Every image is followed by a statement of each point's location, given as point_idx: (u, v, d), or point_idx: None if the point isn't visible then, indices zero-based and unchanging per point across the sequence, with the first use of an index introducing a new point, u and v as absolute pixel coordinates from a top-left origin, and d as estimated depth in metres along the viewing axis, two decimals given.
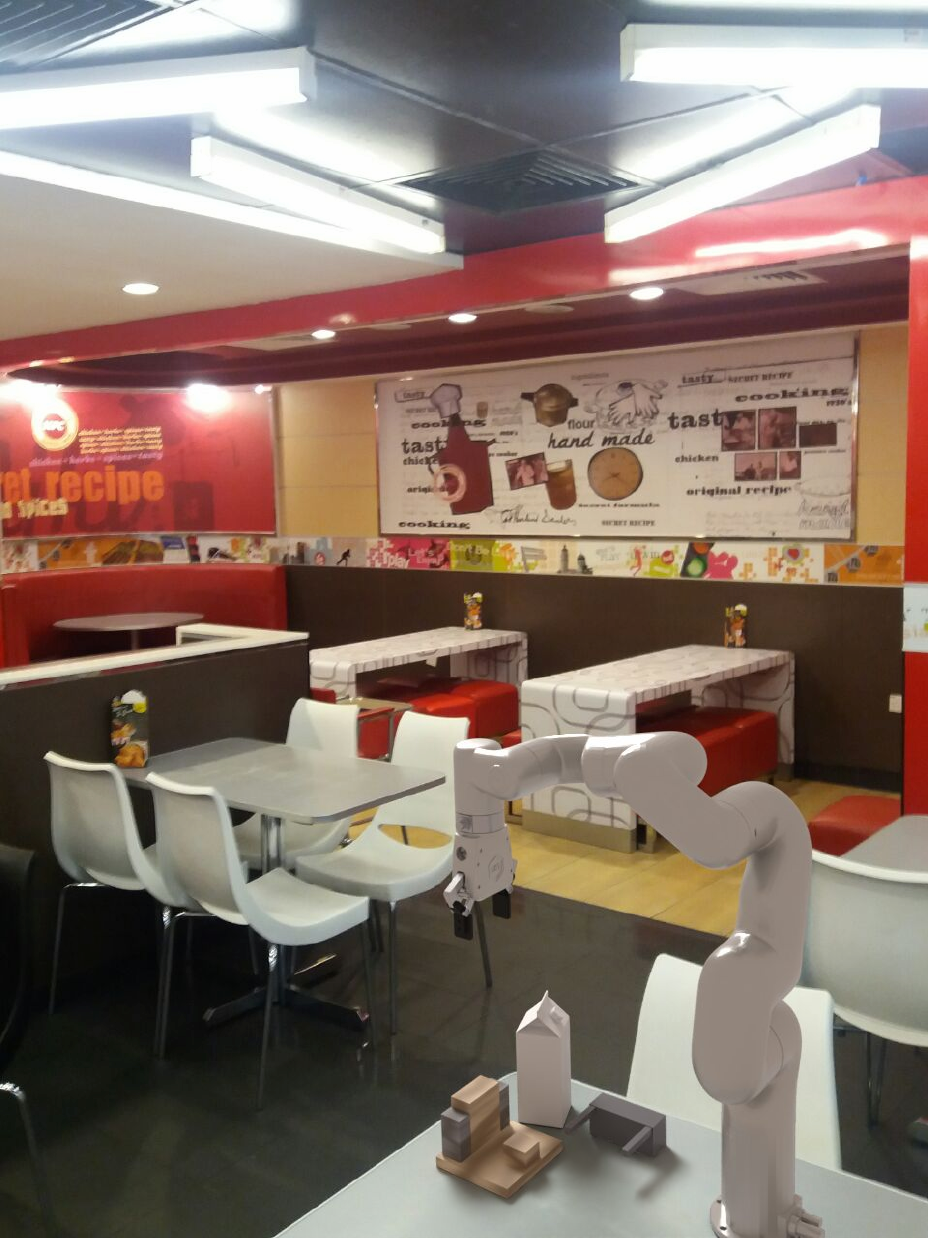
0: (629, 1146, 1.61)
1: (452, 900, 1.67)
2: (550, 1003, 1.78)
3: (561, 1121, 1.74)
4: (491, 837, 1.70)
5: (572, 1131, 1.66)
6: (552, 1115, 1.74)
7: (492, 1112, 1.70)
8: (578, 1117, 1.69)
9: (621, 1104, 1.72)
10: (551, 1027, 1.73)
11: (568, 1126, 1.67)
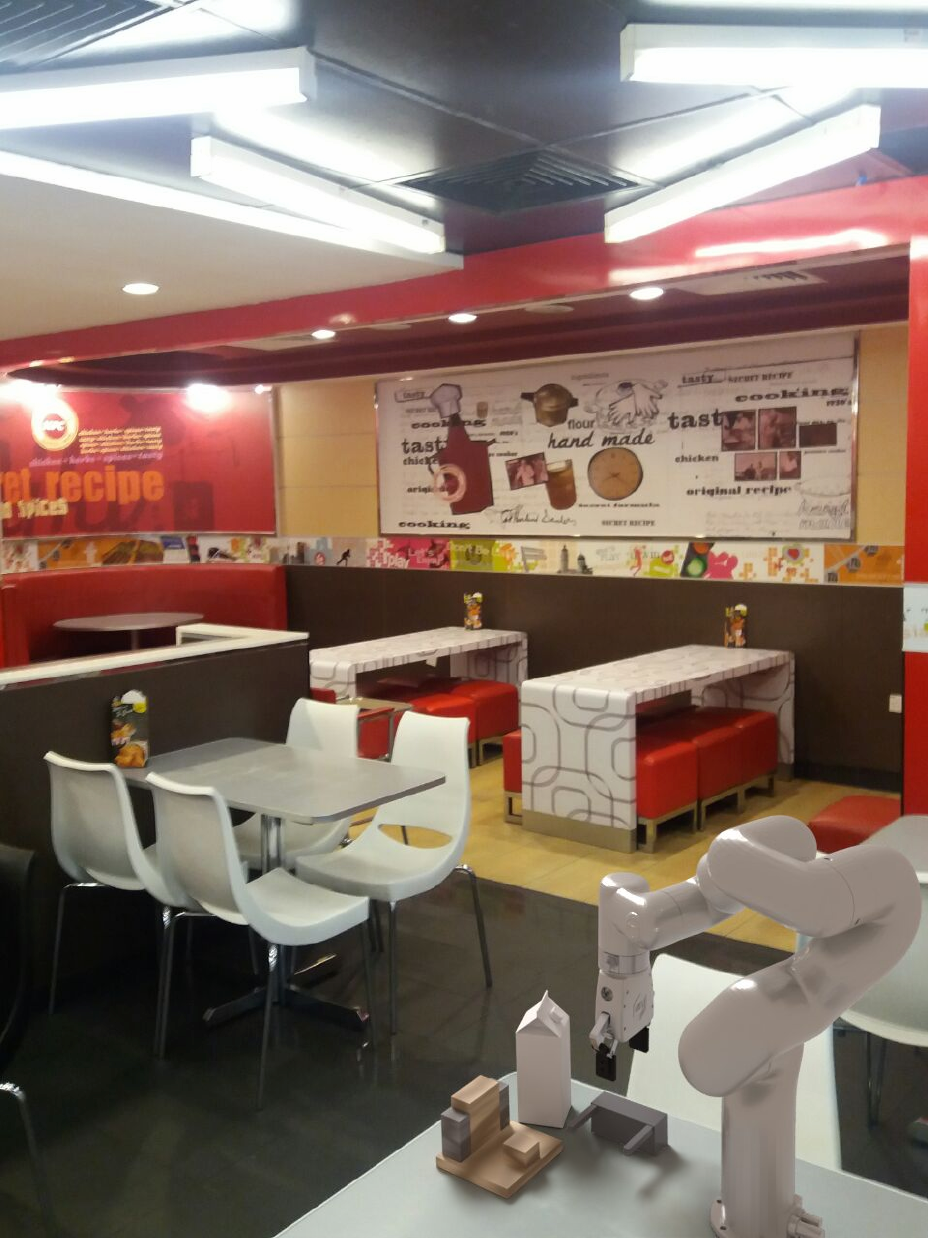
0: (630, 1144, 1.62)
1: (598, 1043, 1.62)
2: (550, 1003, 1.78)
3: (561, 1121, 1.74)
4: (637, 976, 1.65)
5: (574, 1130, 1.67)
6: (552, 1115, 1.74)
7: (492, 1112, 1.70)
8: (580, 1116, 1.69)
9: (623, 1102, 1.72)
10: (551, 1027, 1.73)
11: (570, 1125, 1.67)
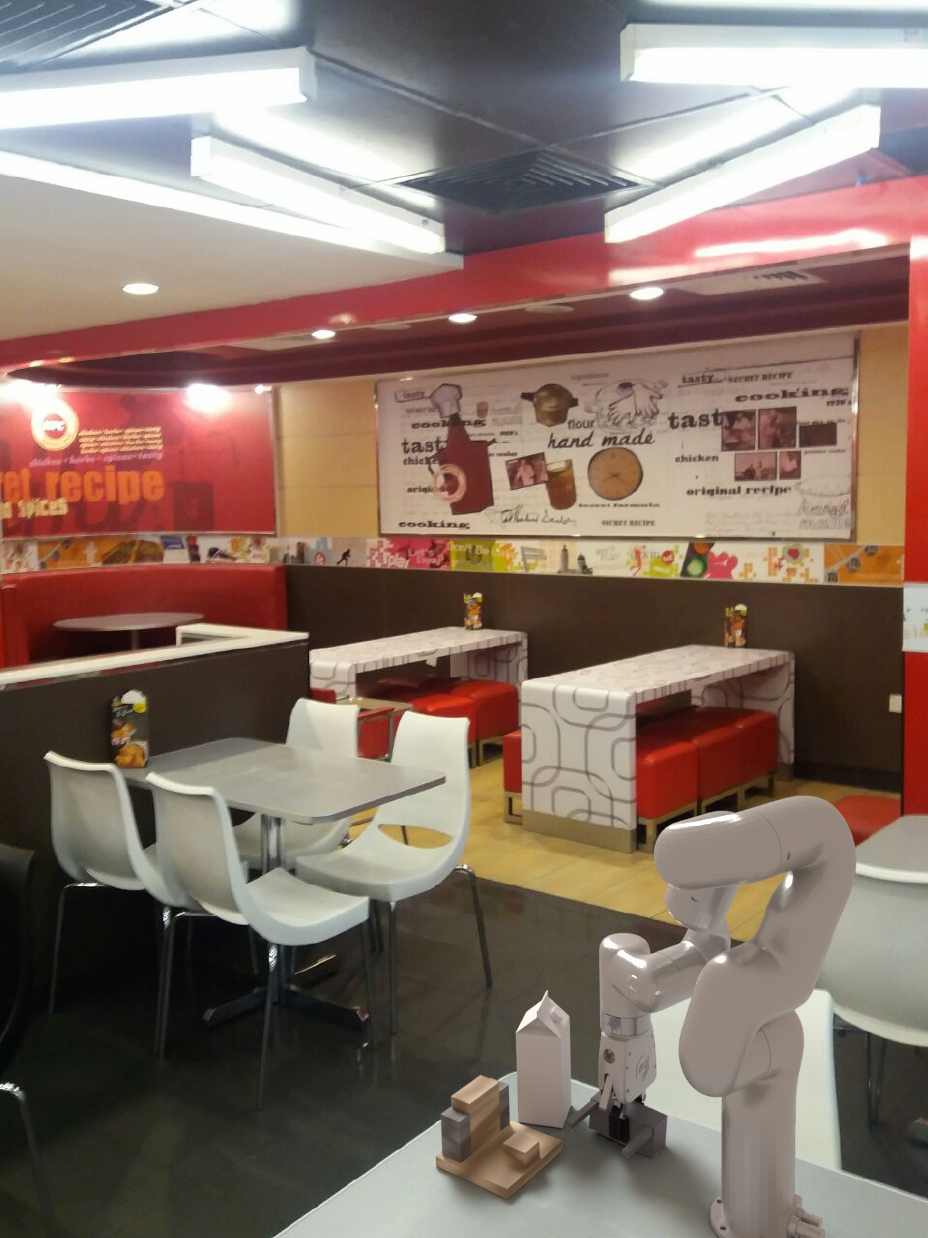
0: (630, 1146, 1.61)
1: (609, 1111, 1.65)
2: (550, 1003, 1.78)
3: (561, 1121, 1.74)
4: (638, 1038, 1.66)
5: (573, 1126, 1.66)
6: (552, 1115, 1.74)
7: (492, 1112, 1.70)
8: (579, 1112, 1.68)
9: None
10: (551, 1027, 1.73)
11: (569, 1121, 1.66)
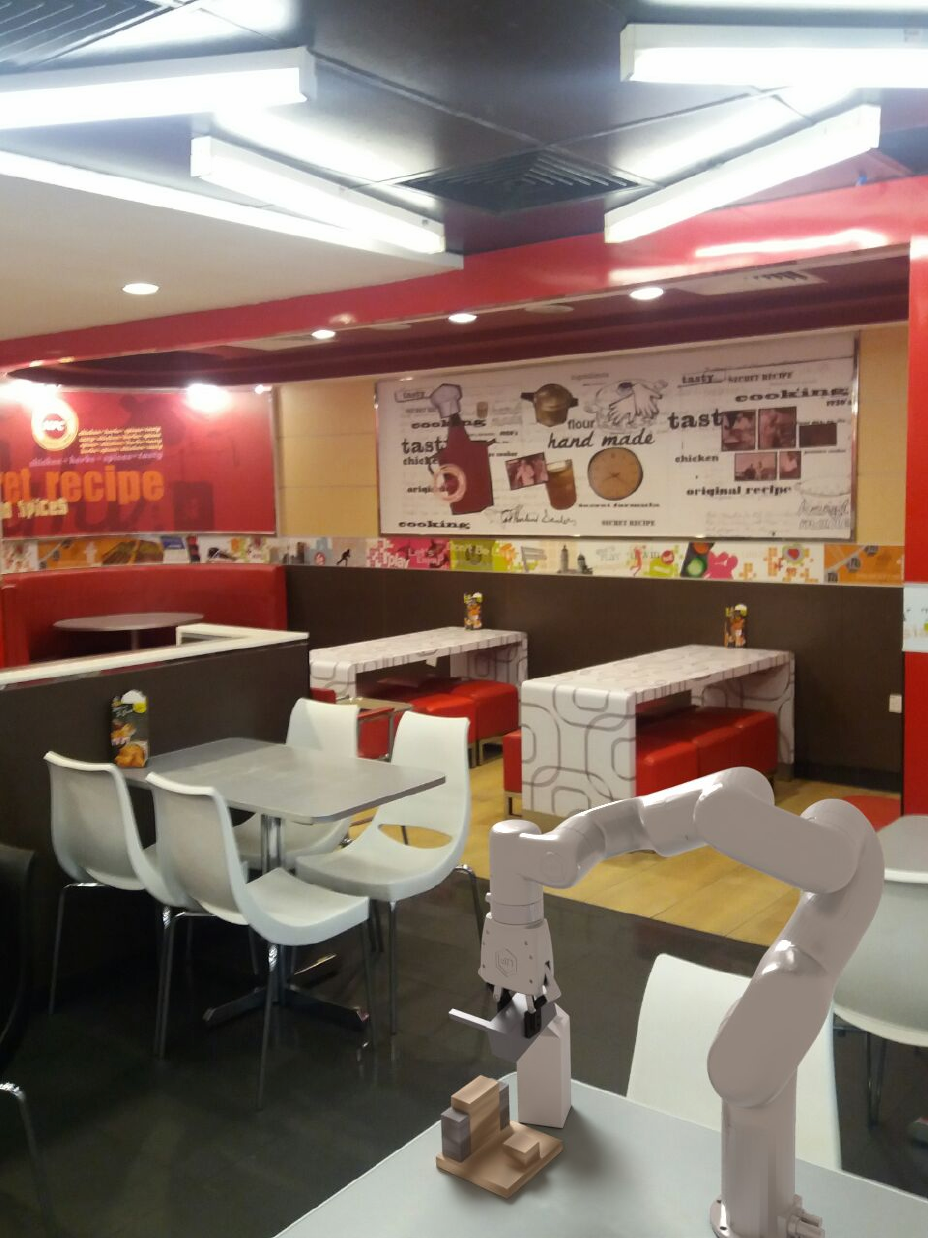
0: (456, 1013, 1.63)
1: None
2: None
3: (561, 1121, 1.74)
4: (501, 927, 1.58)
5: None
6: (552, 1115, 1.74)
7: (492, 1112, 1.70)
8: None
9: None
10: (551, 1027, 1.73)
11: None
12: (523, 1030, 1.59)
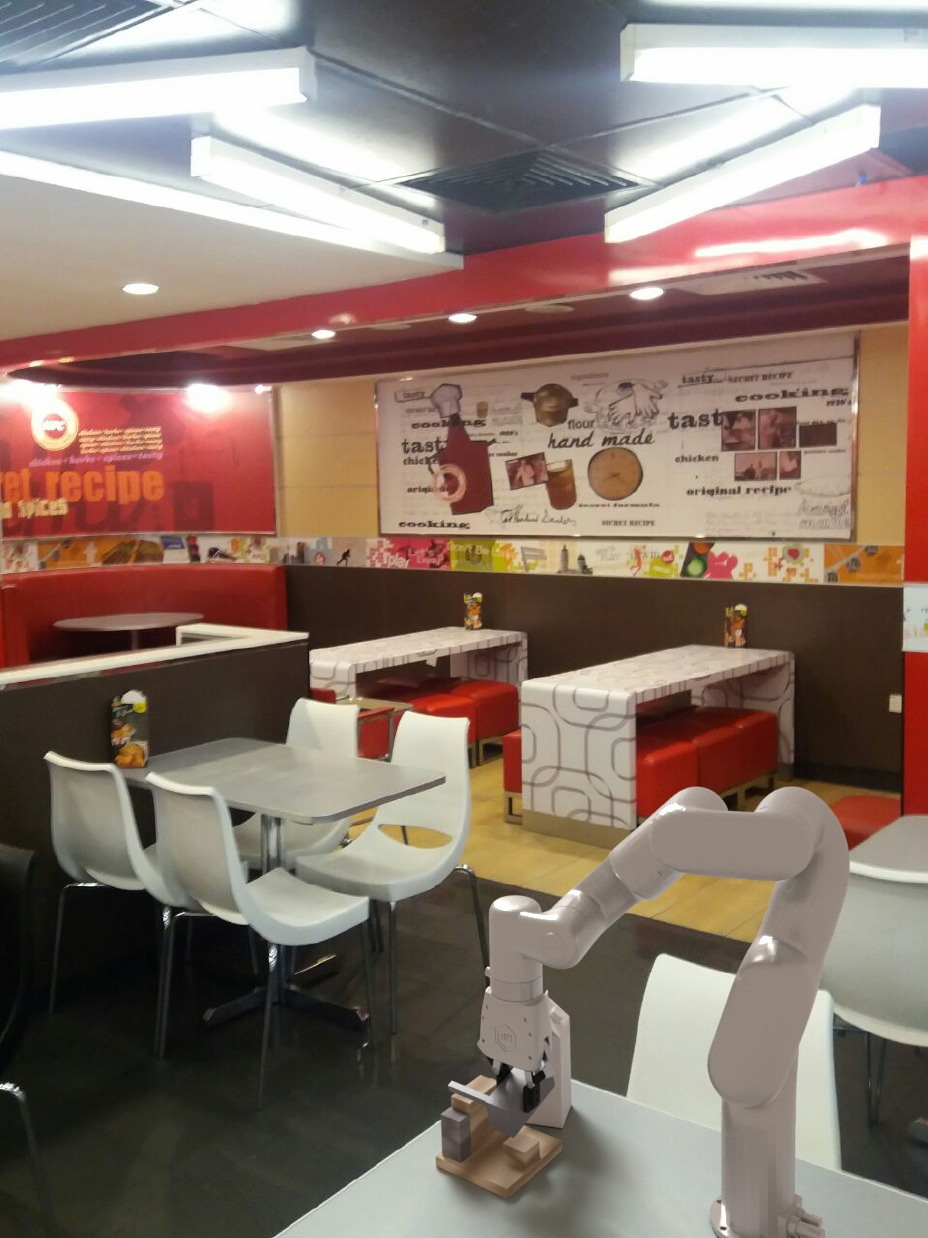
0: (456, 1086, 1.64)
1: None
2: (550, 1003, 1.78)
3: (561, 1121, 1.74)
4: (501, 1003, 1.60)
5: None
6: (552, 1115, 1.74)
7: None
8: None
9: None
10: (551, 1027, 1.73)
11: None
12: (522, 1105, 1.61)
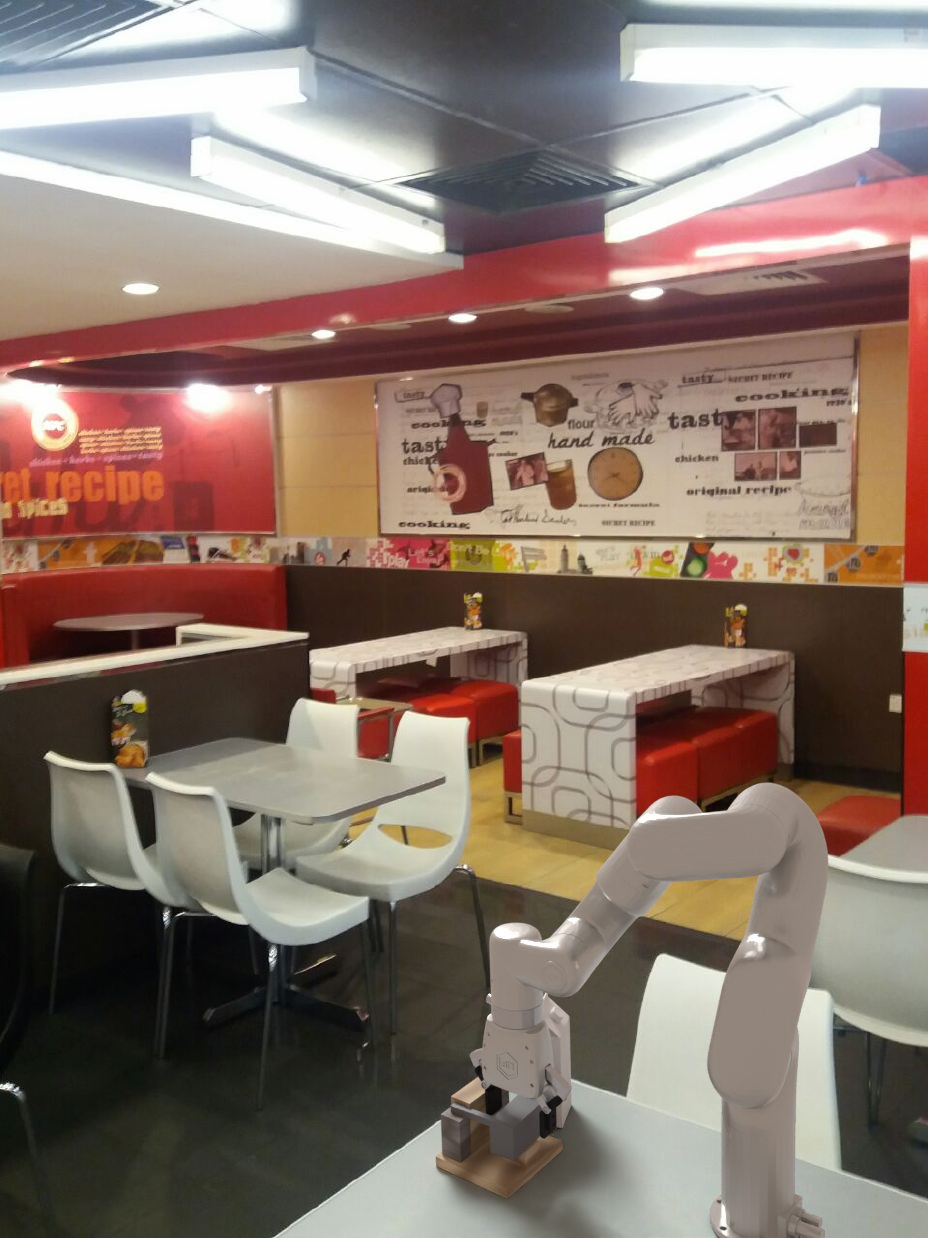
0: (459, 1106, 1.65)
1: (473, 1062, 1.67)
2: (550, 1003, 1.78)
3: (561, 1121, 1.74)
4: (502, 1030, 1.60)
5: None
6: None
7: None
8: None
9: (531, 1103, 1.65)
10: (551, 1027, 1.73)
11: None
12: (524, 1128, 1.62)
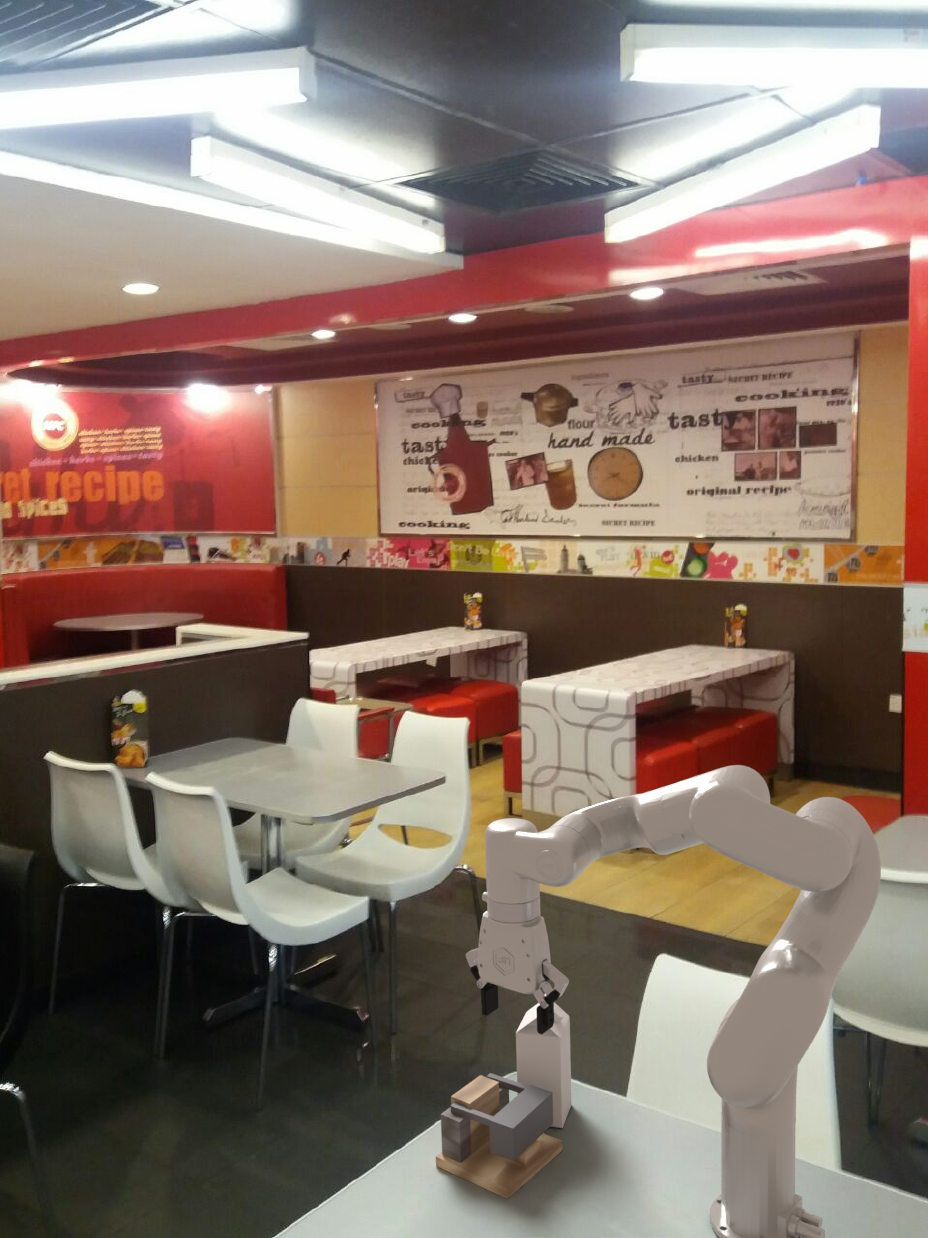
0: (459, 1106, 1.65)
1: (469, 962, 1.66)
2: None
3: (561, 1121, 1.74)
4: (498, 925, 1.59)
5: None
6: None
7: (492, 1112, 1.70)
8: (506, 1079, 1.72)
9: (531, 1103, 1.65)
10: None
11: (490, 1074, 1.74)
12: (524, 1128, 1.62)
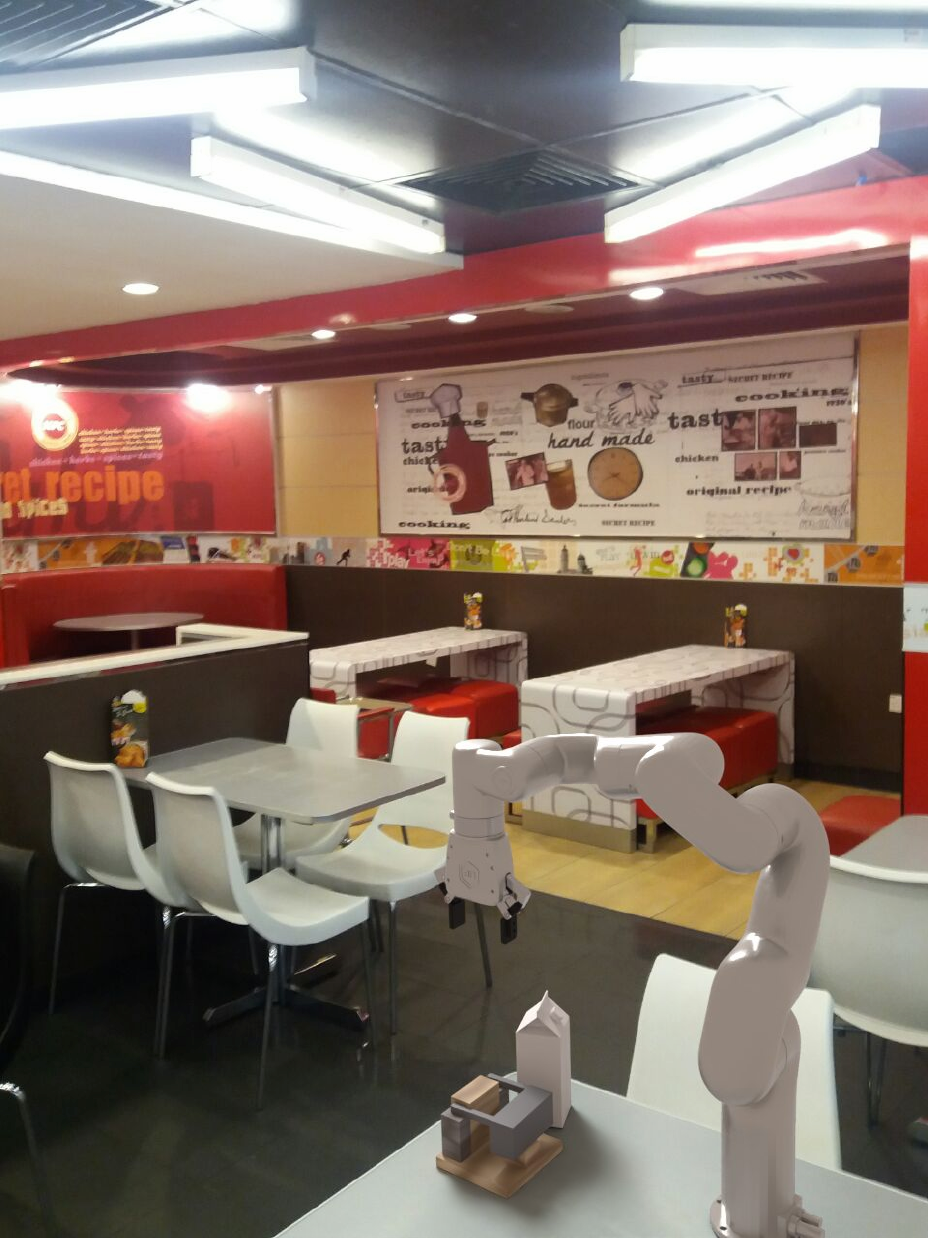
0: (459, 1106, 1.65)
1: (437, 879, 1.73)
2: (550, 1003, 1.78)
3: (561, 1121, 1.74)
4: (464, 840, 1.66)
5: None
6: None
7: (492, 1112, 1.70)
8: (506, 1079, 1.72)
9: (531, 1103, 1.65)
10: (551, 1027, 1.73)
11: (490, 1074, 1.74)
12: (524, 1128, 1.62)
